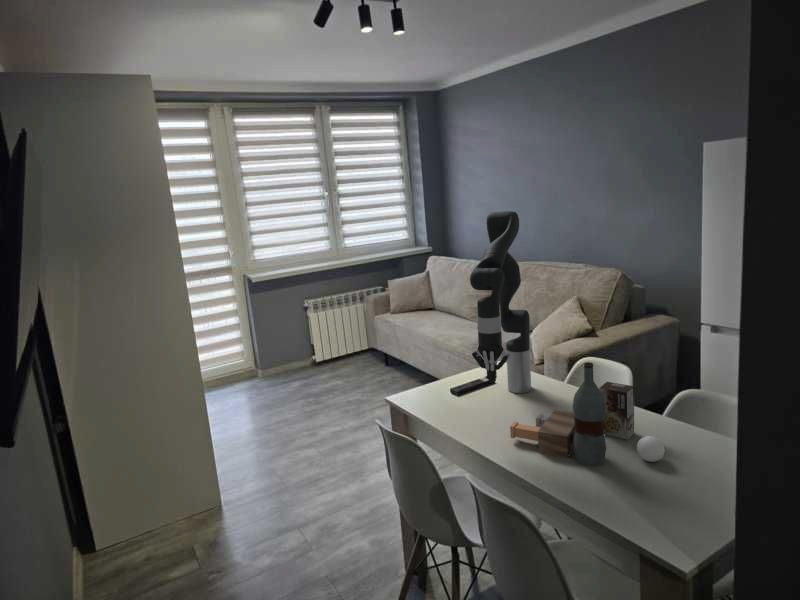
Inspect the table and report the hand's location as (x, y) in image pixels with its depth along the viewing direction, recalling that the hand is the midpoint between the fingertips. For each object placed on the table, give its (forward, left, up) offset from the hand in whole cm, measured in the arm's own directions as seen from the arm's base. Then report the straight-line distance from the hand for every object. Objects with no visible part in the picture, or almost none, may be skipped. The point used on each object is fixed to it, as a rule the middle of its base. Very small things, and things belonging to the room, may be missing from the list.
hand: (491, 380), depth 175 cm
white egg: (-4, +46, -20) cm, 51 cm away
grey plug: (-9, +19, -18) cm, 27 cm away
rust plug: (0, +13, -18) cm, 22 cm away
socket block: (-4, +21, -20) cm, 29 cm away
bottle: (+3, +31, -20) cm, 37 cm away
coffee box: (-17, +35, -20) cm, 44 cm away
